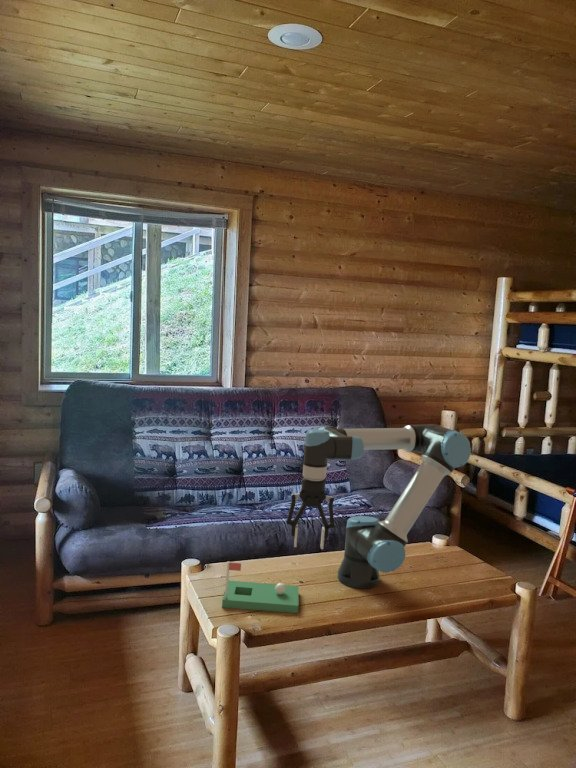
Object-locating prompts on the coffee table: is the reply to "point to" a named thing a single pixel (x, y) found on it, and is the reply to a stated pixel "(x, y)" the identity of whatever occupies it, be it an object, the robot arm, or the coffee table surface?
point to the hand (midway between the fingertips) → (308, 546)
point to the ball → (280, 588)
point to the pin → (229, 567)
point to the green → (261, 597)
